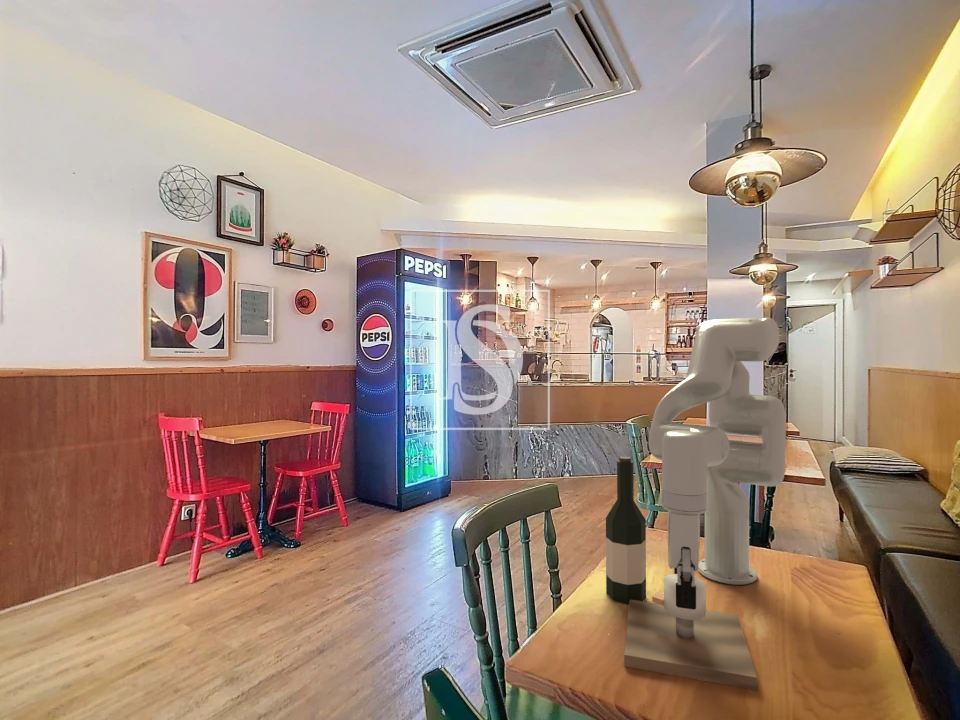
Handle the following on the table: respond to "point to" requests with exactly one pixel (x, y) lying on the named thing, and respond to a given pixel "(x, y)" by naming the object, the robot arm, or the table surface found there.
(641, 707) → the table surface
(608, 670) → the table surface
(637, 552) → the wine bottle
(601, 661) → the table surface
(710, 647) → the post board
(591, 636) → the table surface
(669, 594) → the light bulb
